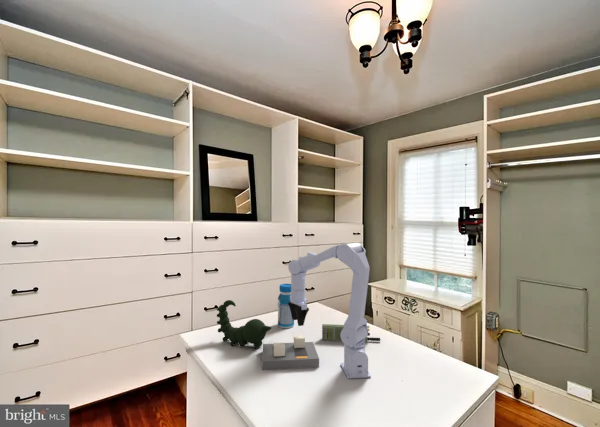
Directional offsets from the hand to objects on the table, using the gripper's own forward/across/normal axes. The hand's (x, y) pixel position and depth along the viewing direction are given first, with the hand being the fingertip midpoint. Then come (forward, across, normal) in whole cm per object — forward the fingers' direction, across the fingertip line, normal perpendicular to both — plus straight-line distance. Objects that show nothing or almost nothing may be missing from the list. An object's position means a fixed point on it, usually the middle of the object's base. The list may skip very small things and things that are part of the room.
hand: (297, 322), depth 115 cm
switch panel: (+10, -7, +6) cm, 14 cm away
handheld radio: (+11, -1, -24) cm, 27 cm away
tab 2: (+7, -5, +1) cm, 9 cm away
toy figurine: (+11, +11, +20) cm, 25 cm away
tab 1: (+7, -9, +11) cm, 16 cm away
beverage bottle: (+11, +26, -3) cm, 28 cm away
